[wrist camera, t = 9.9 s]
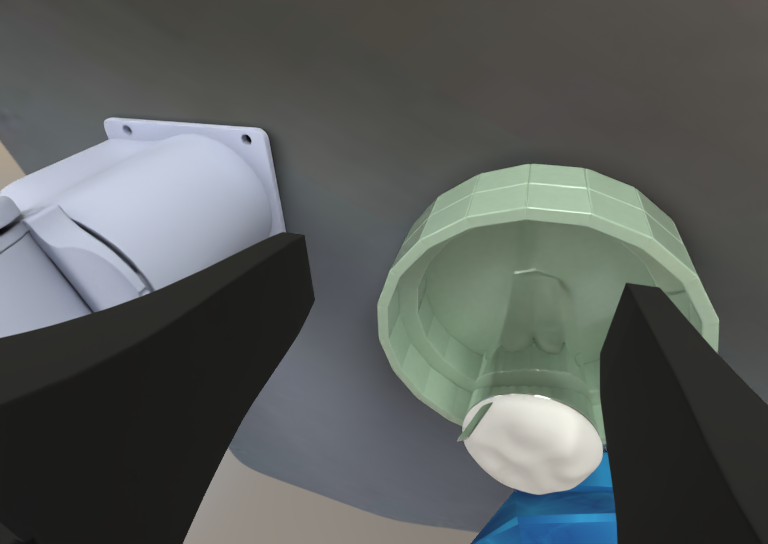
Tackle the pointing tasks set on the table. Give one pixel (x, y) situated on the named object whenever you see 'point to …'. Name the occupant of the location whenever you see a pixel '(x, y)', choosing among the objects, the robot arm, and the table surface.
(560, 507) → the crystal
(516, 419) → the milkshake
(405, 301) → the bowl
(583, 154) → the table surface
